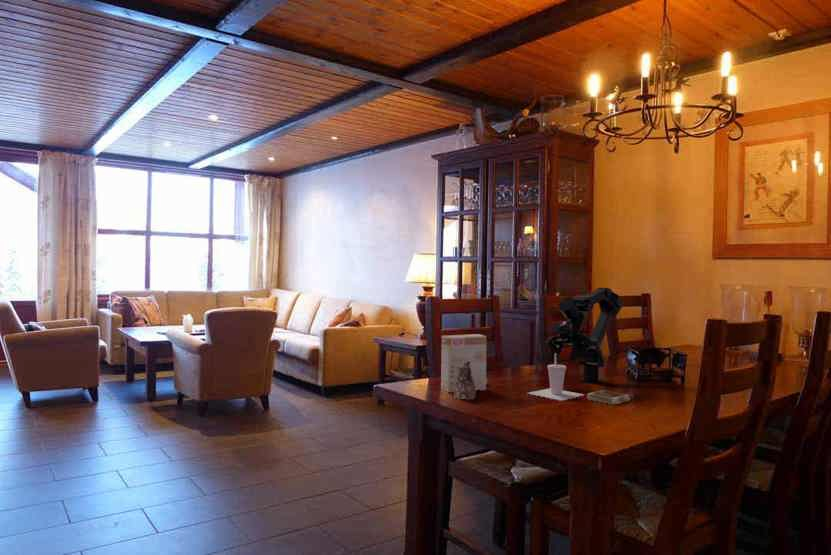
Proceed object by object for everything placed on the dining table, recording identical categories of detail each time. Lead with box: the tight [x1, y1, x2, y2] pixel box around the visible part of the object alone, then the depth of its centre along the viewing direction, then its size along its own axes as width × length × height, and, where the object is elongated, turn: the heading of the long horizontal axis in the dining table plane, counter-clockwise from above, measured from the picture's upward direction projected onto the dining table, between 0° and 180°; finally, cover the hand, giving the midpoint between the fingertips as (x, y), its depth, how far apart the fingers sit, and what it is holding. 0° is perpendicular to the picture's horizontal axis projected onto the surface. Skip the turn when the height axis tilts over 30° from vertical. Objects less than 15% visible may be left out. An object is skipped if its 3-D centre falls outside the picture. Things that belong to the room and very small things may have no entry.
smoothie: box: [547, 353, 567, 395], centre depth 205 cm, size 6×6×14 cm
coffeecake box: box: [440, 333, 487, 393], centre depth 211 cm, size 15×7×20 cm, turn 110°
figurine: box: [453, 361, 476, 401], centre depth 199 cm, size 7×7×12 cm
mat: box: [526, 387, 586, 402], centre depth 205 cm, size 14×14×1 cm
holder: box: [586, 389, 631, 406], centre depth 198 cm, size 10×10×2 cm
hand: (560, 362), depth 214 cm, fingers open, 9 cm apart
